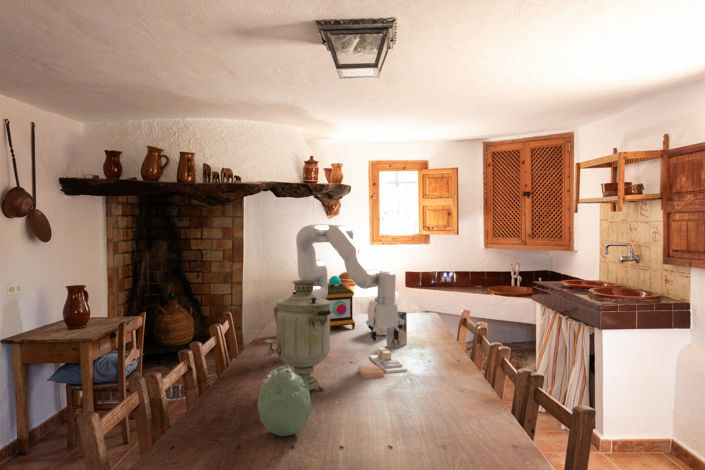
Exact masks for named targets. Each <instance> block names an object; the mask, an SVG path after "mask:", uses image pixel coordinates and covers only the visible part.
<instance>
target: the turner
mask: <svg viewBox="0 0 705 470" xmlns="http://www.w3.org/2000/svg"><path fill="white" fill-rule="evenodd" d="M377 355H378V358H380V359H381V360H382V361H380V363H381V364H382V365H383V366H384V367H385V368H397V367H402V365H403V364H402V363H400V362H399V360H397V359H395V360H391V357H392V352H391V351H389V350H388V349H387V348H385V347H384V346H383V347H377Z"/></svg>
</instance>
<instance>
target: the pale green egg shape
mask: <svg viewBox="0 0 705 470" xmlns="http://www.w3.org/2000/svg"><path fill="white" fill-rule="evenodd" d="M310 391H311V390H309V388H308V384H307V380H306V379H304V380H302V378H301V377H300V375H297V373H295V372H294V370H292V368H291V366H290V365H288V364H285V365H280V366H278V367H275V368H274V369H272V370H269V373H268V374H266V375H265V376H264V378H263V380H262V384H261V387H260V389H259V393H258V399H257V410H258V413H259V419H260V421H261V424H263V426H264V427H265V429H267V430H268V432H270V433H272V434H274V435H276V436H279V437H288V436H291V435H294V434H296V433H297V432H298V431H300V430H301V429H302V428H303V427H304V426H305V425H306V424H307V421H308V420H309V418H310V415H311V413H312V409H313V408H312V406H313V405H312V400H311V393H310Z"/></svg>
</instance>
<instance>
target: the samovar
mask: <svg viewBox="0 0 705 470" xmlns="http://www.w3.org/2000/svg"><path fill="white" fill-rule="evenodd" d="M291 283H293V284H294V291H293V292H291V293H292V295H291V296H290V297H286V298H281V299H279V300H276V302H275V303H276V305H277V307H278V309H279V312H278V313H277V325H276V339H274V338H268V339H266V340H264V341H265V343H269V346H268V347H269V348H268V350H267V351H265V352H264V354H263V355H262V358H267V356H272V355H273V353H276V355H278V358H279V359H280V360H282V361H283V362H284V363H285V364H286V365H288V366H289V367H293V372H294V373H295V374H296V375H300V377H301V378H302V380H304V379H306V380H307V384H308V388H309V391H312V390H314V389H316V388H317V389H319V390H321V391H322V392H323V391H325V390H326V389H325V387H324V386H321V383H319V381H318V379H316V378H315V377H314V376H313V375H311V373H313V372H314V366H317V365H319V364H320V363H321V362H322V361H324V360H325V359H326V358H327V357H328V355H329V353H330V348H331V347H330V343H331V339H330V338H331V333H330V332H331V327H330V314H331V313H332V312H331V311H330V310H329V307H330V304H331V302H330V301H328V300H325V299H321V298H318V297H317V296H315V295H313V294H312V291H313V285H314V284H315V283H316V281H312V280H300V279H299V280H298V279H296V280H292V282H291ZM274 343H276V348H275V349H274V348H273V344H274Z"/></svg>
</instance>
